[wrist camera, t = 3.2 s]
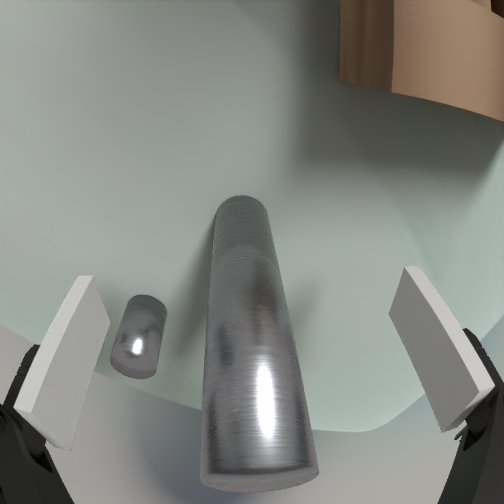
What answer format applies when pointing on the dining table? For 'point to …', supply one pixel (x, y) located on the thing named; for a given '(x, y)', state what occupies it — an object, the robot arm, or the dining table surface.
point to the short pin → (139, 337)
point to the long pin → (251, 364)
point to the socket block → (427, 50)
